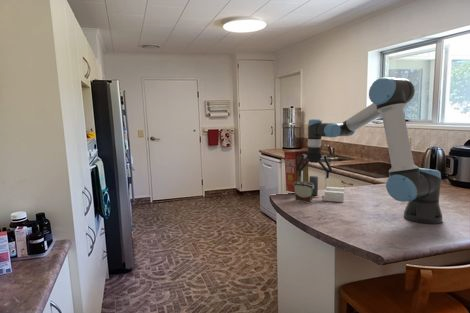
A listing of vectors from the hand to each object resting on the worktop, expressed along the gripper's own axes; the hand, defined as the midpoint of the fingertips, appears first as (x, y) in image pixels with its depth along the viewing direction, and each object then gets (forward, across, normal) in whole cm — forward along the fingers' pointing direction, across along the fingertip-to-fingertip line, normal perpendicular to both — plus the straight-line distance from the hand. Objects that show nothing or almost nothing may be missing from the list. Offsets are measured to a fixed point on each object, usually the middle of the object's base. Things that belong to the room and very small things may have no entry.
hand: (313, 183), depth 186 cm
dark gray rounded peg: (+7, 0, 0) cm, 7 cm away
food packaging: (+8, +11, -8) cm, 15 cm away
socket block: (+8, -12, 0) cm, 14 cm away
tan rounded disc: (+8, 0, 0) cm, 8 cm away
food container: (+8, +3, +10) cm, 13 cm away
